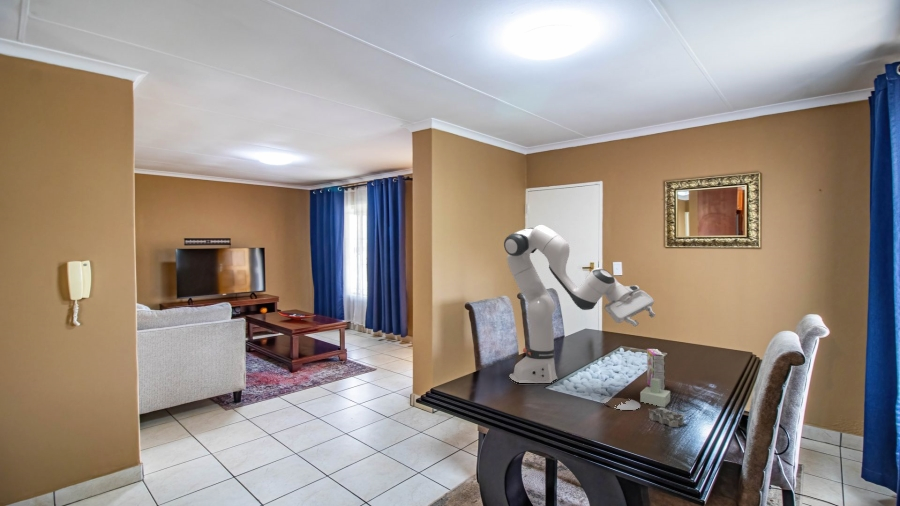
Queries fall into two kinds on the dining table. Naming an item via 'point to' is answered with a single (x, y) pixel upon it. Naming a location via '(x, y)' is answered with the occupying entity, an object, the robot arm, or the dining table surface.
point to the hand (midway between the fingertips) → (645, 320)
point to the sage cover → (655, 394)
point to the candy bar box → (656, 366)
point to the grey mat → (628, 406)
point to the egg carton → (666, 417)
